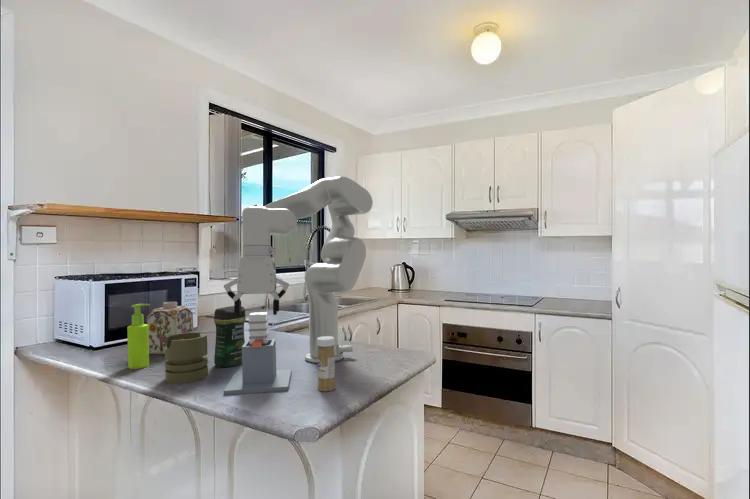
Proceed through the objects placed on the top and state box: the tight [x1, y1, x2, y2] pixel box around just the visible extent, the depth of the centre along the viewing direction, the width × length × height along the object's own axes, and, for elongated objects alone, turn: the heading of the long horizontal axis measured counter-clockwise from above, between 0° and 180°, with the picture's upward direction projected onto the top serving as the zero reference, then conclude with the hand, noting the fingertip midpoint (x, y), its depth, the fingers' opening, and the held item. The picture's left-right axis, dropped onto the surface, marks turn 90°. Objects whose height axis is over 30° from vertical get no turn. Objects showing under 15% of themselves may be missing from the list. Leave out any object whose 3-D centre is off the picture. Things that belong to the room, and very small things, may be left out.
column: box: [248, 311, 270, 346], centre depth 116 cm, size 5×5×18 cm
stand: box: [223, 338, 292, 396], centre depth 116 cm, size 16×16×12 cm
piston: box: [164, 331, 209, 384], centre depth 123 cm, size 11×12×11 cm
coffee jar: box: [213, 305, 247, 368], centre depth 136 cm, size 10×8×19 cm
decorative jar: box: [146, 301, 195, 355], centre depth 156 cm, size 12×12×18 cm
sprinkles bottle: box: [317, 336, 336, 392], centre depth 109 cm, size 5×5×14 cm
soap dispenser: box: [126, 303, 151, 370], centre depth 136 cm, size 6×7×20 cm
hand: (257, 314), depth 115 cm, fingers open, 9 cm apart
